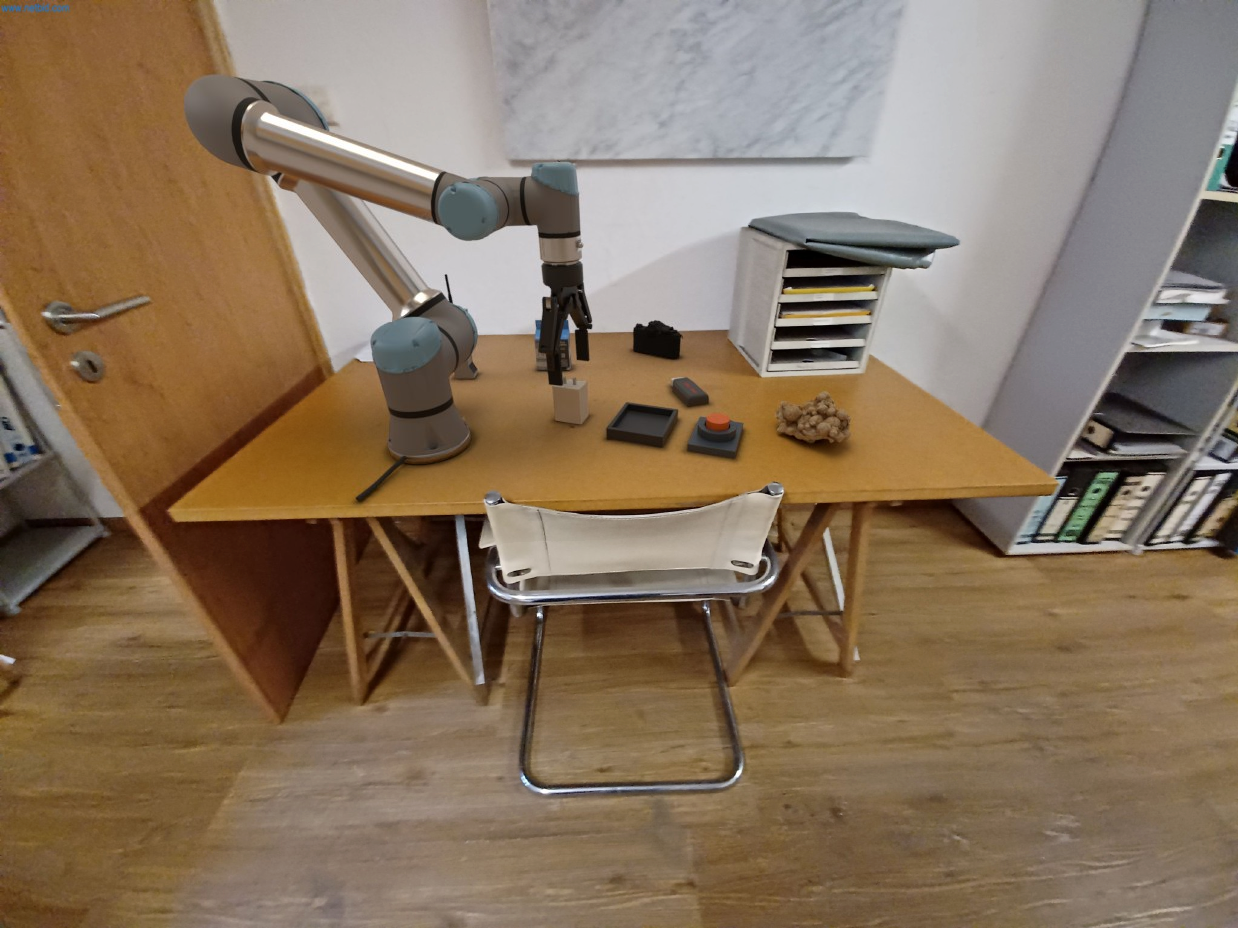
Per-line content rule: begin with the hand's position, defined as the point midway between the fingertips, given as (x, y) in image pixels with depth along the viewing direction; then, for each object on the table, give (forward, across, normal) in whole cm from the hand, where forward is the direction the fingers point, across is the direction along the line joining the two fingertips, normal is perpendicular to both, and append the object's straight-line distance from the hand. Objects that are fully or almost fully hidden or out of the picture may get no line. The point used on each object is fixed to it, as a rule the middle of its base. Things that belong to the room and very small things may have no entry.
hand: (570, 372), depth 102 cm
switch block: (+11, 0, -31) cm, 32 cm away
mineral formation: (+11, +7, -49) cm, 50 cm away
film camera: (+11, +46, -7) cm, 48 cm away
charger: (+11, 0, 0) cm, 11 cm away
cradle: (+11, 0, -16) cm, 19 cm away
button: (+8, 0, -31) cm, 32 cm away
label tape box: (+11, +25, +16) cm, 32 cm away
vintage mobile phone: (+10, +13, +35) cm, 39 cm away
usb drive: (+11, +19, -21) cm, 30 cm away
